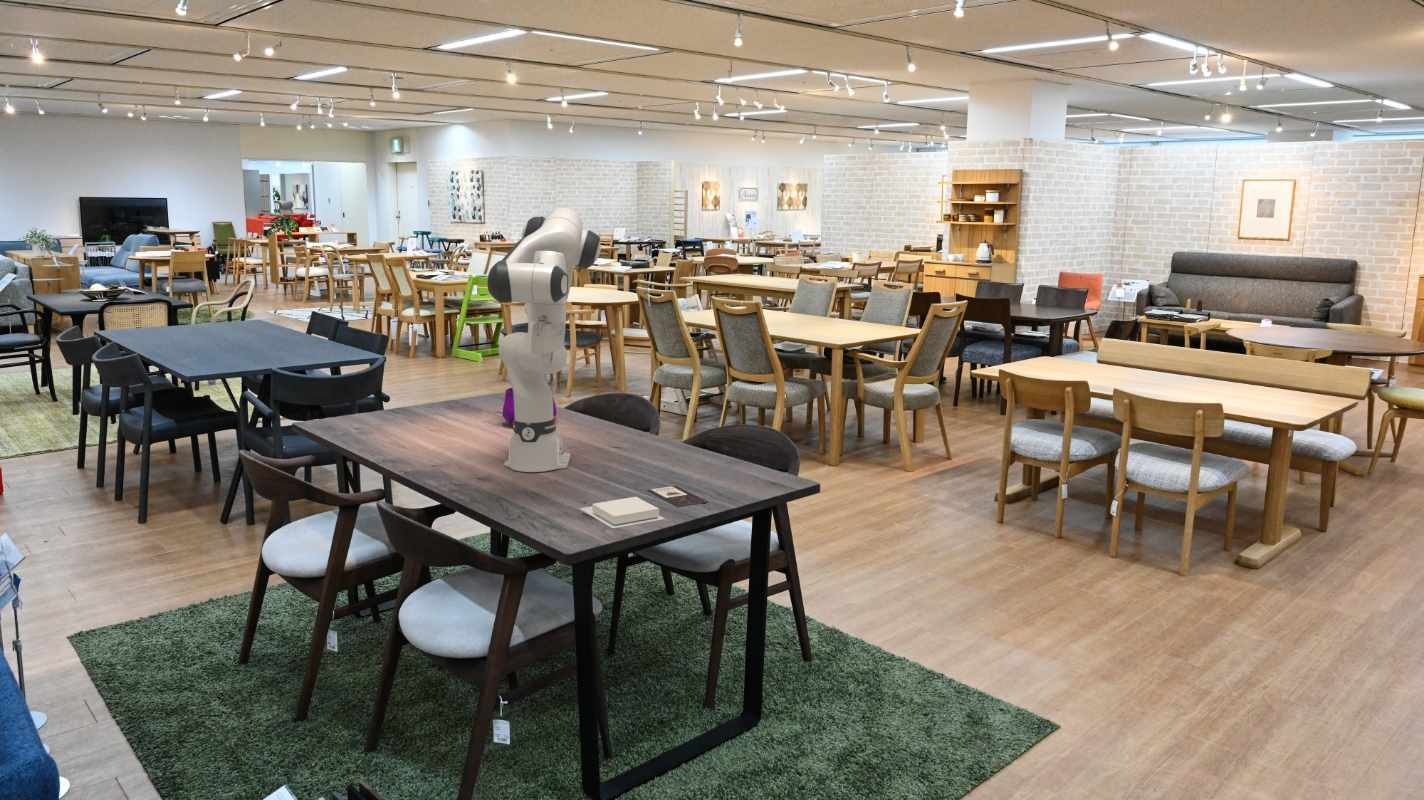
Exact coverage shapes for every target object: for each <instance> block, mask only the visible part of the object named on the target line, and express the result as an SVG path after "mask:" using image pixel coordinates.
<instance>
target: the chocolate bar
mask: <svg viewBox="0 0 1424 800" xmlns="http://www.w3.org/2000/svg"><path fill="white" fill-rule="evenodd" d="M646 491H647V492H649V493H650V494H652V495H654V496H656V497H657V498H659V499H661V500H663V501H665V502H667V503H668V504H671V505H672V506H674V507H676V508H683V507H689V506H690V507H691V506H694V505H695V506H696V505H703V504H706V503H709V504H710V502H709V501H707V500H705V499H703V498H701V497H699V496H697V495H695V494H693V493H692V492H689V491H687V490H686V489H683V488H681V487H679V486H678V485H673V486H666V487H659V488H651V489H646Z"/></svg>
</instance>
